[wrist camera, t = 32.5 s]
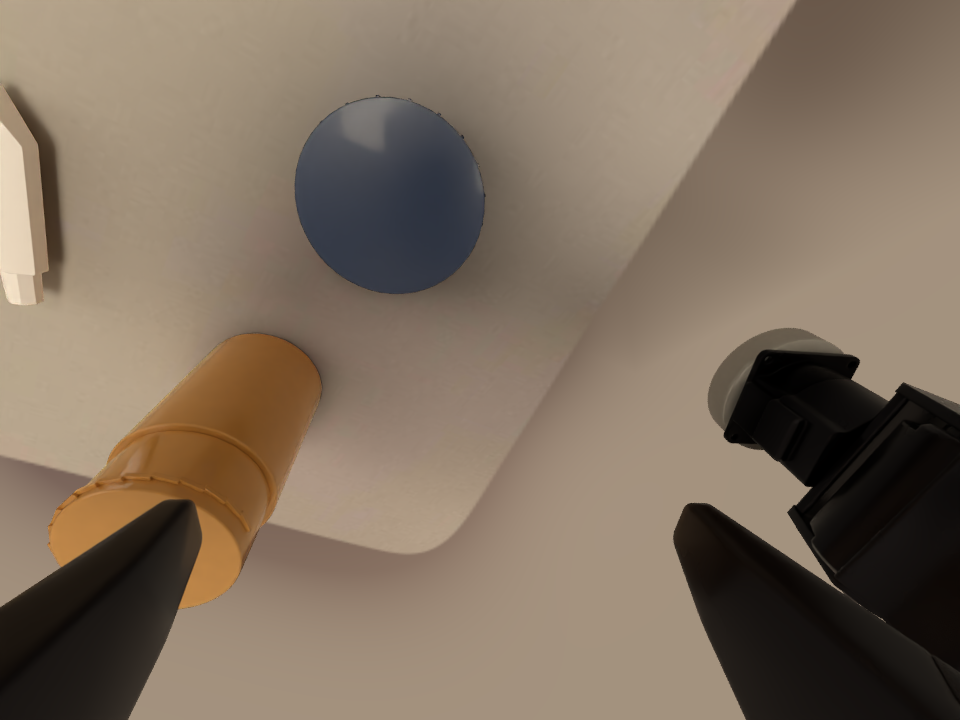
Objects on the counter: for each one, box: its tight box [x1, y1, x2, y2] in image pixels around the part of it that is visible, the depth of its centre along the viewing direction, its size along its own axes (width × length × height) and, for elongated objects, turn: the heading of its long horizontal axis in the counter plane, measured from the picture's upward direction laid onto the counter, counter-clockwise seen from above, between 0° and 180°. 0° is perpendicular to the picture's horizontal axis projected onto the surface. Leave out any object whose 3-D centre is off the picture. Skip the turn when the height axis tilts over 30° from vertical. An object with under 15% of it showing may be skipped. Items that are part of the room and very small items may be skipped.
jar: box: [48, 334, 322, 609], centre depth 17 cm, size 5×5×10 cm
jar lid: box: [295, 95, 485, 294], centre depth 16 cm, size 6×6×3 cm
